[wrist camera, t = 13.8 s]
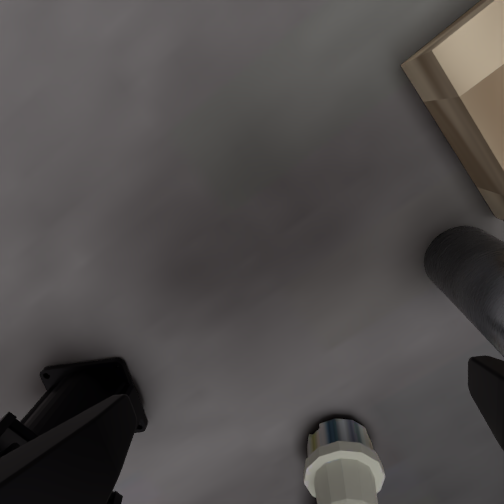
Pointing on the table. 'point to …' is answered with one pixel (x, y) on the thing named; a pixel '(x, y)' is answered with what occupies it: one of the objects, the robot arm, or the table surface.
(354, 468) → the grey knobbed rod
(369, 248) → the table surface
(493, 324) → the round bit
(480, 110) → the socket block
